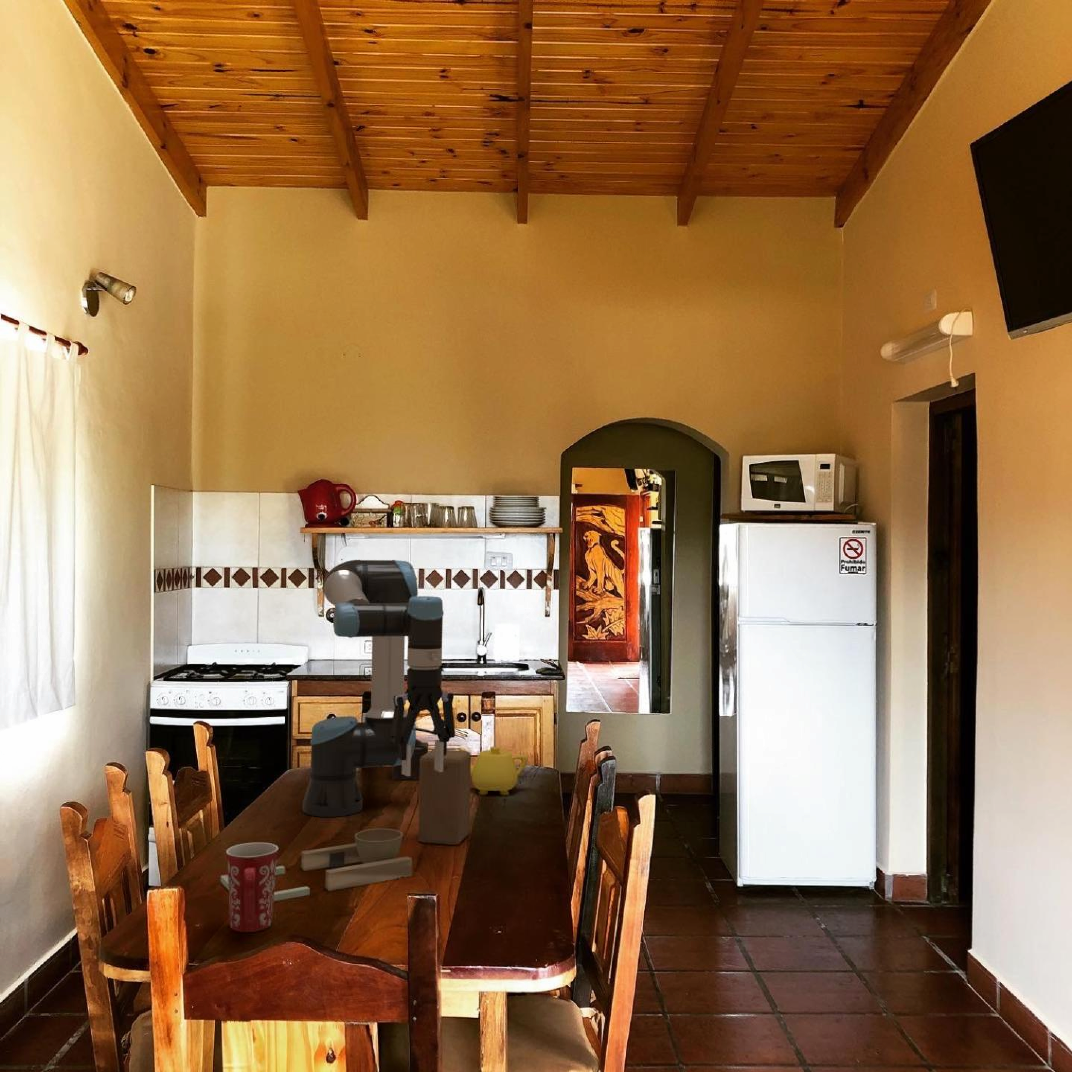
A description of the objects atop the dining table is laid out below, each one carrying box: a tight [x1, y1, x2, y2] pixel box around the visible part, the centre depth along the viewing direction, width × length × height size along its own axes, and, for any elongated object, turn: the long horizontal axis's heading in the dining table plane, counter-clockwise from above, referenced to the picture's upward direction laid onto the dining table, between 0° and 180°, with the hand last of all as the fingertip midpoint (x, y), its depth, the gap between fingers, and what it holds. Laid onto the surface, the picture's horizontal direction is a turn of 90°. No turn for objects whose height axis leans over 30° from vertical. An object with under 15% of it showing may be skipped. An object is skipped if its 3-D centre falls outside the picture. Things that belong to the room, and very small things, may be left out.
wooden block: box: [417, 748, 472, 846], centre depth 229 cm, size 10×10×20 cm
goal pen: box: [220, 865, 311, 902], centre depth 194 cm, size 16×13×1 cm
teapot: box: [457, 746, 529, 796], centre depth 276 cm, size 13×20×12 cm
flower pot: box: [354, 828, 403, 864], centre depth 207 cm, size 10×10×7 cm
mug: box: [225, 841, 279, 933], centre depth 173 cm, size 13×9×14 cm
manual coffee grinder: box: [391, 718, 445, 781], centre depth 292 cm, size 16×11×18 cm
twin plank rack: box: [300, 842, 413, 892], centre depth 204 cm, size 16×18×4 cm
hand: (422, 772), depth 213 cm, fingers open, 7 cm apart
